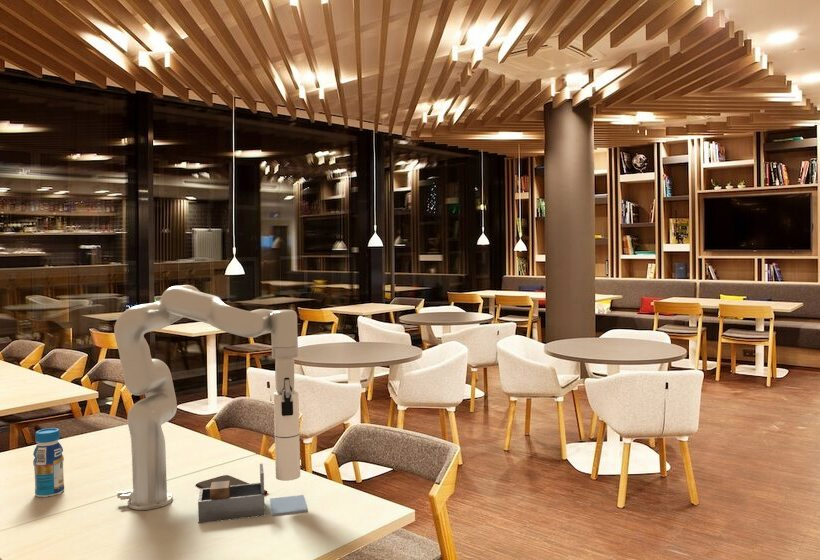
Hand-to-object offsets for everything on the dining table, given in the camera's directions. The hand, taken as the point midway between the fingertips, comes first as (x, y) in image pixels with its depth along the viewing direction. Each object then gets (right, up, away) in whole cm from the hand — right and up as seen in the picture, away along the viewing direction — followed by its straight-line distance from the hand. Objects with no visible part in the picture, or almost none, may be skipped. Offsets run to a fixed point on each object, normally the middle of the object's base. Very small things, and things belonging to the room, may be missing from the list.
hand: (286, 411), depth 192 cm
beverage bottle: (-78, -29, +15) cm, 84 cm away
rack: (-15, -28, -3) cm, 32 cm away
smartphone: (-21, -29, +16) cm, 39 cm away
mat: (0, -28, +1) cm, 28 cm away
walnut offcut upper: (-18, -24, -4) cm, 31 cm away
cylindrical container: (0, -19, +1) cm, 19 cm away
